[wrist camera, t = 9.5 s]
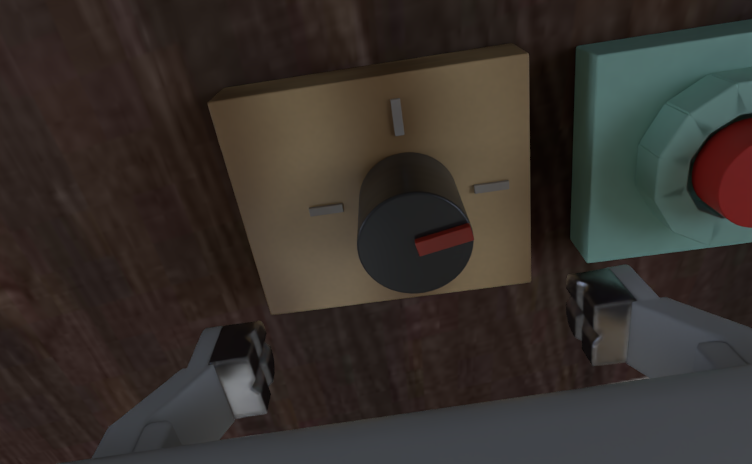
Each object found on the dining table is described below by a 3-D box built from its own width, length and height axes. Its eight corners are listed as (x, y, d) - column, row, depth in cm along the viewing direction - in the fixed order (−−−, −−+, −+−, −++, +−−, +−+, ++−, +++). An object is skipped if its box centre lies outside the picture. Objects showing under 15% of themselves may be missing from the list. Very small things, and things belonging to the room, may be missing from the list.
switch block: (569, 239, 25) (601, 285, 22) (575, 45, 21) (616, 63, 17) (783, 211, 24) (853, 253, 21) (834, 5, 20) (931, 16, 17)
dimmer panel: (279, 285, 26) (270, 318, 24) (222, 87, 22) (204, 103, 19) (517, 254, 25) (532, 285, 23) (512, 42, 21) (530, 53, 18)
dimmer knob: (378, 252, 22) (379, 312, 19) (345, 170, 21) (339, 218, 17) (467, 224, 22) (487, 280, 18) (441, 137, 20) (458, 179, 16)
